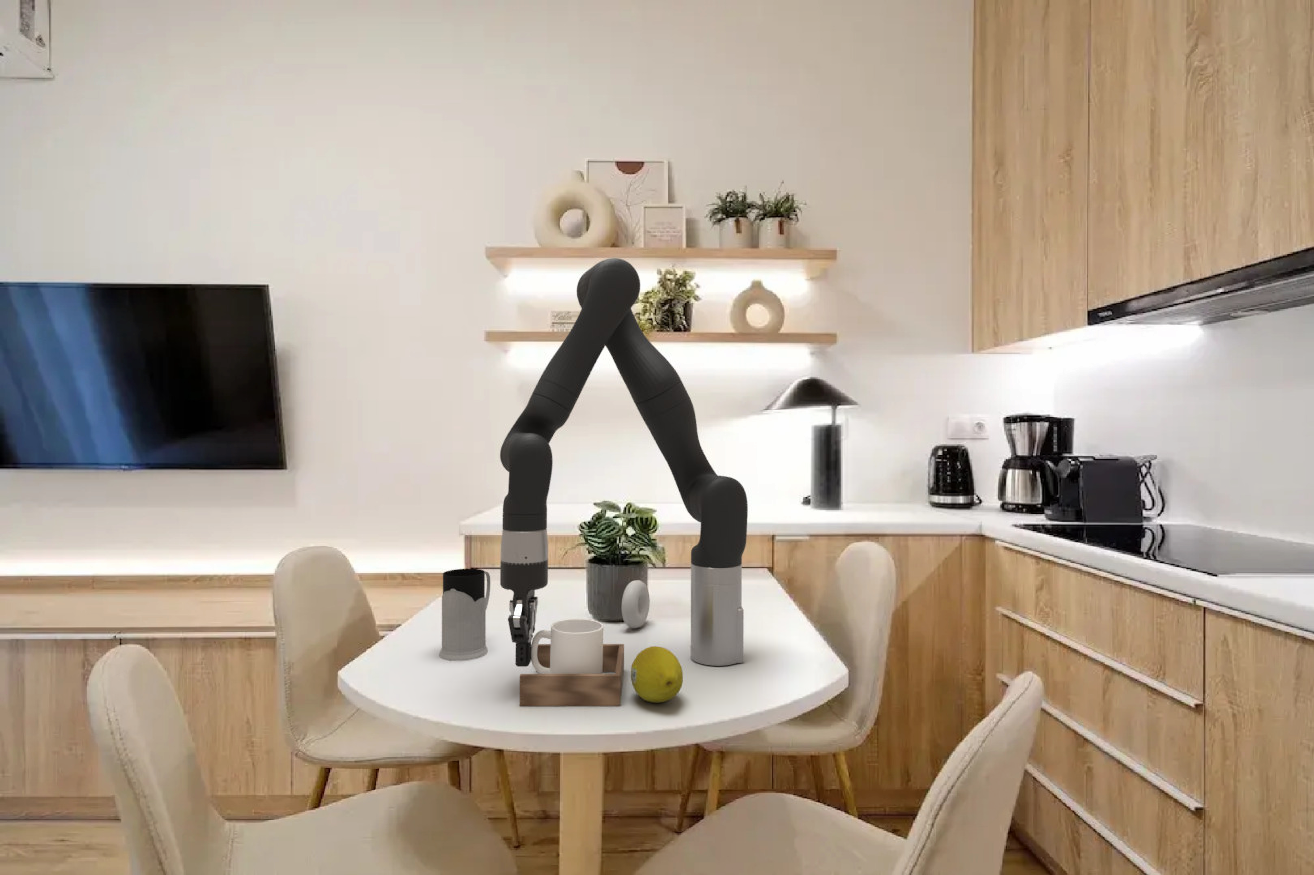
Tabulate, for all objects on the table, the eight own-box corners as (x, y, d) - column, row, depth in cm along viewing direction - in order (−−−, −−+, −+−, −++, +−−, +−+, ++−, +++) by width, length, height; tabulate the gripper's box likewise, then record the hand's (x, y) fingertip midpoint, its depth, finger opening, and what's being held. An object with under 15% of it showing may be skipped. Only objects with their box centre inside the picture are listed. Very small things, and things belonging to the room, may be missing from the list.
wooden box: (624, 670, 117) (624, 644, 117) (620, 705, 102) (620, 675, 102) (536, 670, 117) (537, 644, 117) (519, 706, 102) (519, 675, 102)
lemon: (627, 689, 108) (627, 639, 108) (675, 687, 110) (676, 637, 110) (635, 717, 98) (635, 661, 98) (688, 714, 99) (688, 659, 99)
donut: (637, 621, 149) (637, 575, 149) (652, 622, 148) (652, 576, 148) (618, 633, 140) (618, 584, 140) (633, 635, 138) (634, 585, 138)
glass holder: (429, 658, 123) (429, 575, 123) (469, 636, 137) (469, 562, 137) (473, 662, 121) (473, 578, 121) (509, 639, 135) (509, 564, 135)
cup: (591, 702, 103) (593, 635, 103) (518, 693, 106) (520, 628, 106) (608, 683, 111) (610, 621, 111) (540, 675, 114) (541, 615, 114)
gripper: (541, 565, 103) (539, 679, 103) (553, 550, 116) (552, 652, 116) (491, 564, 103) (490, 679, 103) (509, 550, 116) (508, 652, 116)
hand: (523, 664), depth 109 cm, fingers closed
